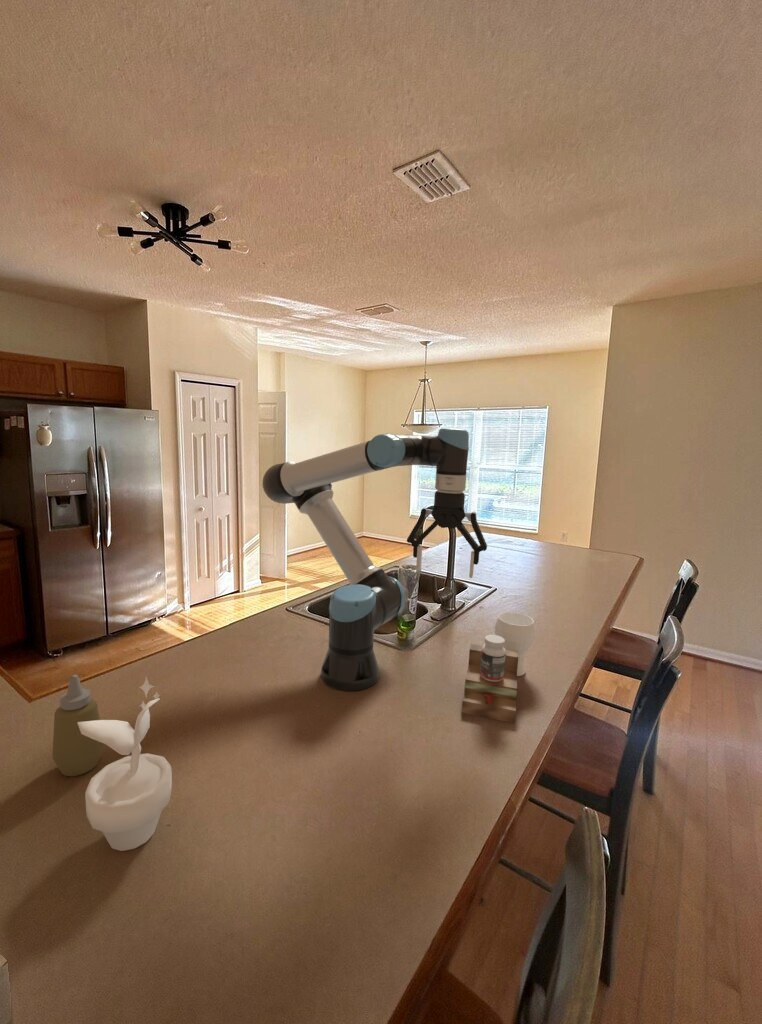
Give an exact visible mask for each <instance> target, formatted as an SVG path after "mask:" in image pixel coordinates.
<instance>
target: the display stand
mask: <svg viewBox="0 0 762 1024" xmlns="http://www.w3.org/2000/svg"><path fill="white" fill-rule="evenodd" d="M469 647H470V648H469V656H468V665H467V669H466V675H465V680H464V691H463V697H462V701H461V703H462V704H461V713H463V714H467V715H472V716H477V717H482V718H487V719H492V720H498V721H503V722H509V723H512V724H516V715H517V714H516V713H517V696H518V695H517V694H518V676H517V667H518V651H513V650H507V649H505V650H506V657H505V667H504V676H503V679H502V680H501V681H499V682H491V681H487V680H485V679H483V678H482V677H481V676H480V664H481V653H482V647H483V645H481V644H475V643H470V646H469Z"/></svg>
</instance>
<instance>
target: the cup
mask: <svg viewBox="0 0 762 1024" xmlns="http://www.w3.org/2000/svg"><path fill="white" fill-rule="evenodd" d="M496 618H497V619H496V620H495V624H494V635H497V636H500V637H502V638H504V640H505V645H504V646H503V647H504V648H505V649H507V650H513V651H518V667H517V677H522V676H523V675H525V674H526V671H527V670H526V657H527V653H528V651H529V650H530V649H531V647H532V645H533V643H534V640H535V638H536V636H535V635H536V626H535V621H534V619H533V618H532V617H531V616H529V615H526V614H524V613H520V612H512V611H511V612H510V611H508V612H506V611H505V612H501V613H499V614H498V616H497V617H496Z"/></svg>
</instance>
